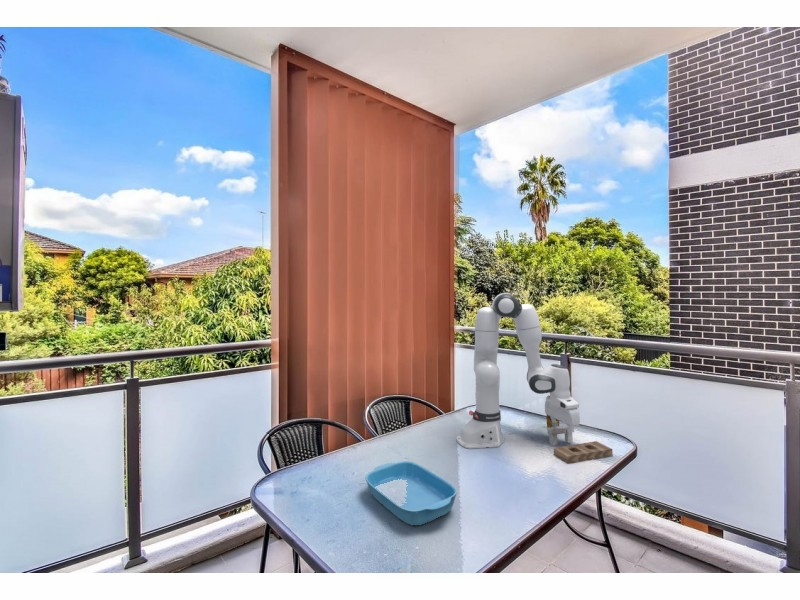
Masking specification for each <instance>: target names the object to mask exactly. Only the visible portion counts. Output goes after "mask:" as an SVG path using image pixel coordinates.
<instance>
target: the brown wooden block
mask: <svg viewBox="0 0 800 600" xmlns="http://www.w3.org/2000/svg"><path fill="white" fill-rule="evenodd" d="M553 456H555V457H556V458H558V460H559V459H560V460H561V461H562V462H564V463H566V464H567V465H569V464H574V463H581V462H586V460H587V461H592V459H593V460H598V459H602V458H608V457H613V448H611V447H609V446H607V445H605V444H603V443H601V442H599V441H597V440H596V441H589V442H583V443H576V444H570V445H565V446H563V445H562V446H556V447H554V448H553Z"/></svg>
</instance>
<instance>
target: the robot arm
mask: <svg viewBox="0 0 800 600" xmlns="http://www.w3.org/2000/svg"><path fill="white" fill-rule="evenodd" d="M502 317H503V318H510V319H512V320H513V322H514V326H515V330H516V335H517V338H518V341H519V343H520V345H521V346H522V347H523V349H524V352H525V355H526V362H527V366H528V368H527V372H526V381H527V383H528V386H529V389H530V390H531V391H532V392H533V393H535V394H542V395H543V394H549V395H547V396H546V397H545V402H544V414H545V415H546V414H547V415H549V416H551V420H552V422H553V426H554V427H555V426H558V423H557V422H556V419H557V420H559V422H562V423H564V424H565V425H567V426H568V428H567V429H566V433H568V434H571V433H572V434H573V432H571V430H572V428H573V426H574V427H577V426H579V425H580V421H581V419H580V418H581V417H580V410H579V409H578V408H580V403H579V402H577V400H575V399H574V398H573V397H572V396H571V391H570V386H571V379H570V373H569V370H568V368H567V367H566V366H564V365H562V364H556V363H554V364H550V365H549V366H547V367H546V368H544V367H543V365H542V359H541V355H540V345H541V343H542V339H543V338H542V336H543V335H542V326H541V323H540V319H539V315H538V312H537V311H536V308H535V307H534V305H532V304H529V303H522V304H521V303H520V301H519V300H518V299H517V298H516V297H515V296H514V295H513V294H512V293H509V292H501V293H499V294H497V295H495V297H494V298H493V300H492V301H491V304H490V305H489V306H485V307H484V306H483V307H481V308H479V309H478V310H477V312H476V318H475V325H474V353H473V372H474V375H475V392H474V394H475V410H474V411H473V410H469V411H468V415H469V416H472V418H471V419H469V421H467V422H466V423H465V424H464V425H463V426H462V428H461V430H460V435H457V436H456V442H457V443H458V444H459V445H460V446H461V447H463V448H465V449H470V450H471V449H473V450H474V449H485V448H486V447H489V448H499V447H501V445H502V443H504V441H505V438H504V436H503V431H502V425H501V420H502V417H501V416H502V414H501V410H500V385H501V384H500V381H501V378H500V377H501V375H500V374H501V372H500V368H499V366H498V361H497V360H498V351H499V339H500V338H499V337H500V336H499V331H500V330H499V325H500V324H499V323H500V320H501V318H502ZM547 415H546V416H547Z"/></svg>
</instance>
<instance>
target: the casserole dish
mask: <svg viewBox="0 0 800 600" xmlns="http://www.w3.org/2000/svg"><path fill="white" fill-rule="evenodd" d="M398 479H399V480H400V479H402V480H407V481H406V482H407V483H408V484H406V485H408V486H407V487H406V491H407V493H406V495H407V497H404V498H405V499H406V501H405V502H407V503H402V504H404V505H402V506H399V505H397V504H396V503H395V502H393V501H392V500H391V499H389V498H388V497H387V496H385V495H384V494H383V493H382V492H380V491H379V490H378V489H377V488H375V487H376V486H378V485H380V484H384V483H387V482H390V481H393V480H398ZM365 482H366V484H367V485H368V489H369V491H370V493H371V495H372V497H374V498H375V500H377V502H378V503H380V504H381V505H382V504H383V505H382V506H383V507H385V509H387V510H390V511H389V512H391V513H392V514H393V515H394V516H395V517H396V518H398V519H399V520H400V521H402V522H404V523H405V524H407V525H409V524H410V525H409V526H413V525H419V526H422V524H423V525H426V524H428V523H430V522H432V521H434V520H436V518H437V519H439V518H440V516H441V517H442V516H444V515H447V514H448V513H449V512H450V511H451V510H452V508H453V507H454V504H455V500H456V497H457V493H458V492H457V488H456V487H455V486H454V485H453V484H452V483H450V482H448V481H447V480H445V479H444V478H443V477H441V476H439V475H438V474H436V473H434V472H432V471H430V470H429V469H428V468H426V467H424V466H423V465H420V464H419V463H416V462H413V461H406V460H405V461H397V462H389V463H388V462H387V463H383V464H381V465H378V466H376V467H375V468H374V469H373V470H372V471H371V470H370V471H369V472H368V473H366V475H365ZM438 517H439V518H438ZM427 522H428V523H427ZM425 523H426V524H425Z"/></svg>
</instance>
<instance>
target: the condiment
mask: <svg viewBox="0 0 800 600" xmlns="http://www.w3.org/2000/svg"><path fill="white" fill-rule="evenodd" d="M545 415H546V424H547V428H549V427H554V426H553V422H552V420H551V416H549V415H547V414H546V413H545ZM556 422H557V423H558V426H560V420H557V419H556ZM542 427H543V428H545V427H544V426H542ZM547 428H546V429H547Z"/></svg>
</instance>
